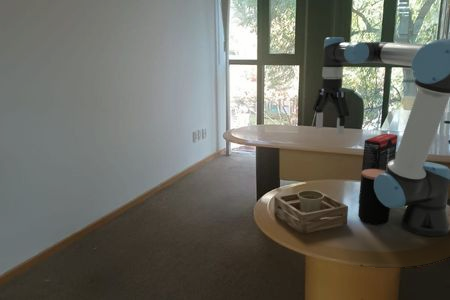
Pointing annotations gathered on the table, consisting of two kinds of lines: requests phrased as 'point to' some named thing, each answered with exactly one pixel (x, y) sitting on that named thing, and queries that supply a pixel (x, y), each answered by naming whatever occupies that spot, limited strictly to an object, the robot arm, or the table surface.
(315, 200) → the flower pot
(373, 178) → the coffee jar
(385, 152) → the graphics card box
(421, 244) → the table surface
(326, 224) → the crate
